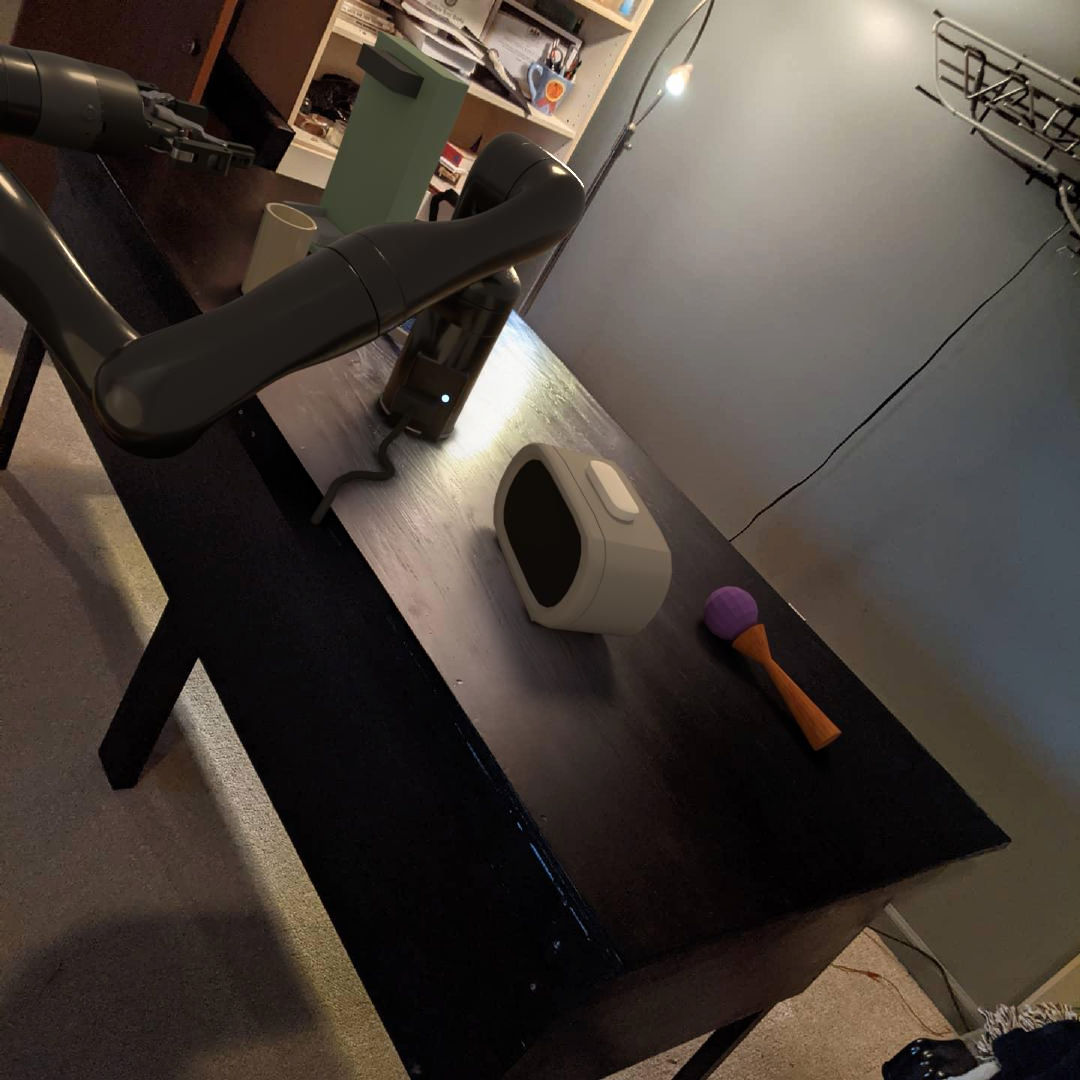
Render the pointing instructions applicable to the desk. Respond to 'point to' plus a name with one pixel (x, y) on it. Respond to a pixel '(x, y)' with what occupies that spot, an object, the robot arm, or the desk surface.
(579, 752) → the desk surface
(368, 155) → the coffee maker
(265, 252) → the beige cylindrical cup
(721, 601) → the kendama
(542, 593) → the alarm clock
